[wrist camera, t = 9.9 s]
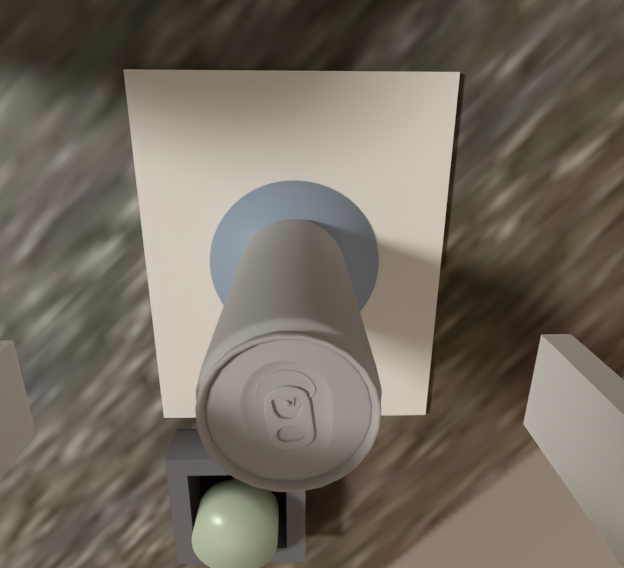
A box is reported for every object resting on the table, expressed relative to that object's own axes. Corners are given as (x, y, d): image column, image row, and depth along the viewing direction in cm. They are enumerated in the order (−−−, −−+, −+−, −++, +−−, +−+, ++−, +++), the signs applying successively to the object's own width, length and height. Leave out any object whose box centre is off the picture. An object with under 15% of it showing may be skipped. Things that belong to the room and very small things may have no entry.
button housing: (176, 429, 27) (165, 460, 24) (305, 428, 27) (305, 458, 25) (186, 528, 29) (177, 564, 27) (304, 526, 29) (305, 561, 27)
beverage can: (338, 210, 22) (381, 318, 11) (347, 307, 24) (392, 486, 13) (234, 222, 22) (170, 342, 11) (250, 317, 24) (208, 506, 13)
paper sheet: (125, 69, 20) (122, 69, 20) (457, 72, 21) (460, 71, 20) (165, 414, 26) (163, 418, 26) (424, 411, 27) (425, 416, 26)
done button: (196, 479, 25) (188, 509, 23) (278, 477, 25) (276, 508, 23) (202, 541, 27) (194, 574, 25) (279, 539, 27) (278, 572, 25)
